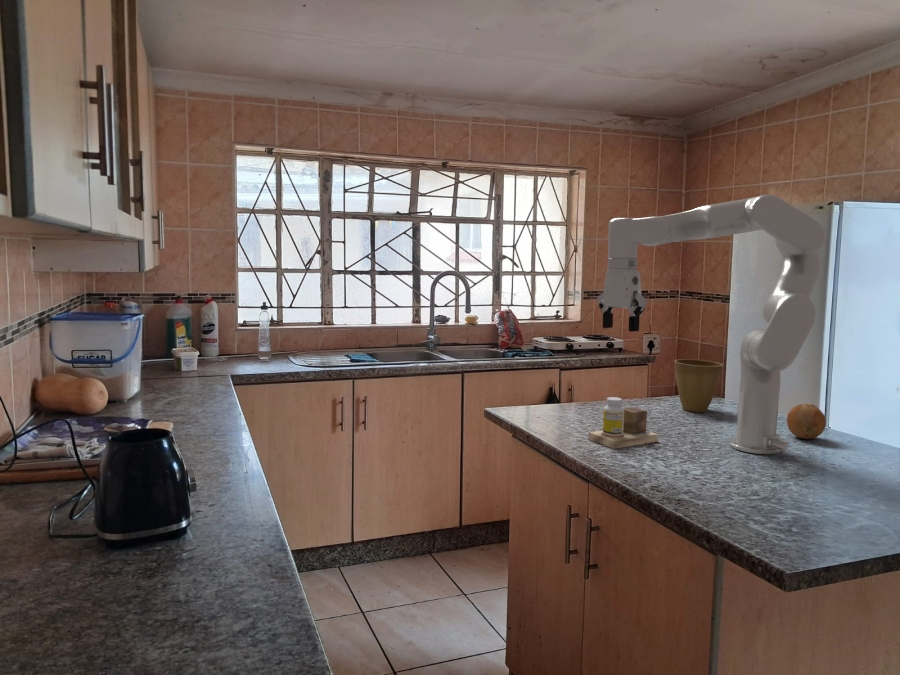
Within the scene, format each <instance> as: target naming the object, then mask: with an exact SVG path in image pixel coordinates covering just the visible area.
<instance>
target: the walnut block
mask: <svg viewBox="0 0 900 675" xmlns="http://www.w3.org/2000/svg"><path fill="white" fill-rule="evenodd" d="M623 408H624V430H623V431H624V432H627V433H630V434H638V433H644V432H646V431H647V422H648V420H647V419H648V410H646V409H642V408H638V407H637V406H636V407H635V406H632V407H623Z"/></svg>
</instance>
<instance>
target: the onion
mask: <svg viewBox="0 0 900 675" xmlns="http://www.w3.org/2000/svg"><path fill="white" fill-rule="evenodd" d="M786 424H787V429H788V431H789V432H790V433H791V434H792V435H794V436H795V437H797V438H798V437H799V438H798V439H801V438H803V439H802V440H812V439H815V438H817V437H819V436H820V435H821V436H822V434H823V433H824V431H825V429H826V427H827V426H826V425H827V420H826V416H825V414H824V412H823V411H822V410H821V409H820V408H819V407H818V406H817V405H815V404H812V403H802V404H797V405H794V406H793V407H792V408H791V409H790V410H789V412H788V414H787V416H786Z"/></svg>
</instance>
